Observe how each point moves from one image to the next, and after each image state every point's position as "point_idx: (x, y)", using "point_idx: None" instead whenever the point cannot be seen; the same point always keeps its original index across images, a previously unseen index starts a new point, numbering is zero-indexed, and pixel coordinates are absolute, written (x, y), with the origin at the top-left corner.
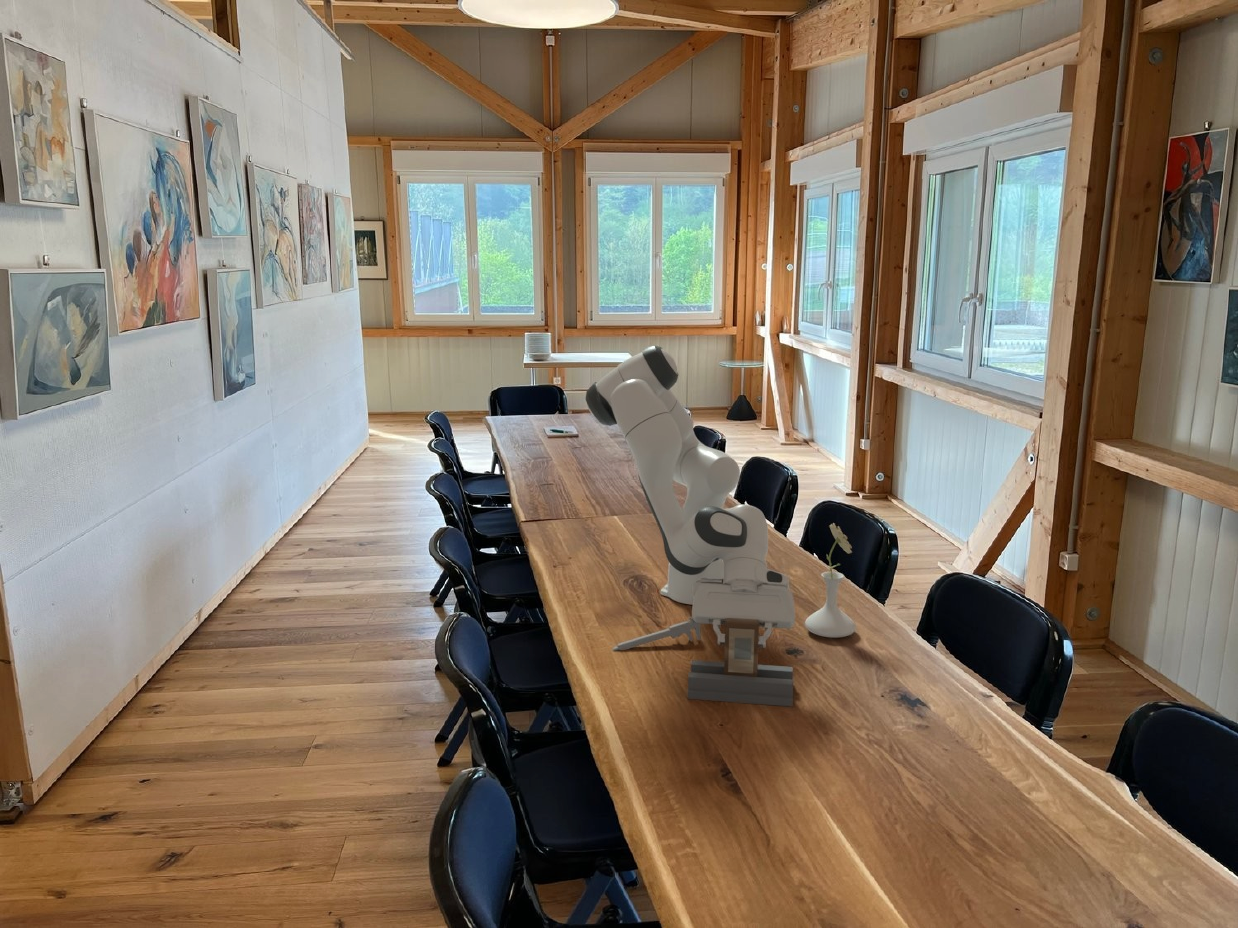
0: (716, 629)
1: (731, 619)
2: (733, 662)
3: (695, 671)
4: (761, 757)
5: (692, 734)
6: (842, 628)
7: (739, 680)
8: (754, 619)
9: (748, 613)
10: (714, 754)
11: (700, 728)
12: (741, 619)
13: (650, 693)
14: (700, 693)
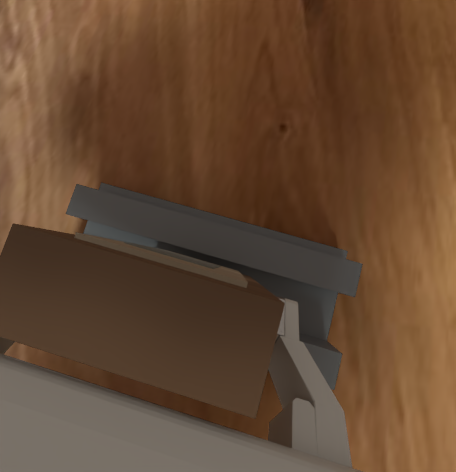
0: (312, 366)
1: (210, 381)
2: (223, 267)
3: (319, 341)
4: (233, 8)
5: (348, 96)
6: None
7: (216, 225)
8: (5, 358)
9: (4, 440)
10: (317, 24)
11: (328, 117)
12: (119, 369)
13: (425, 288)
14: (313, 242)
